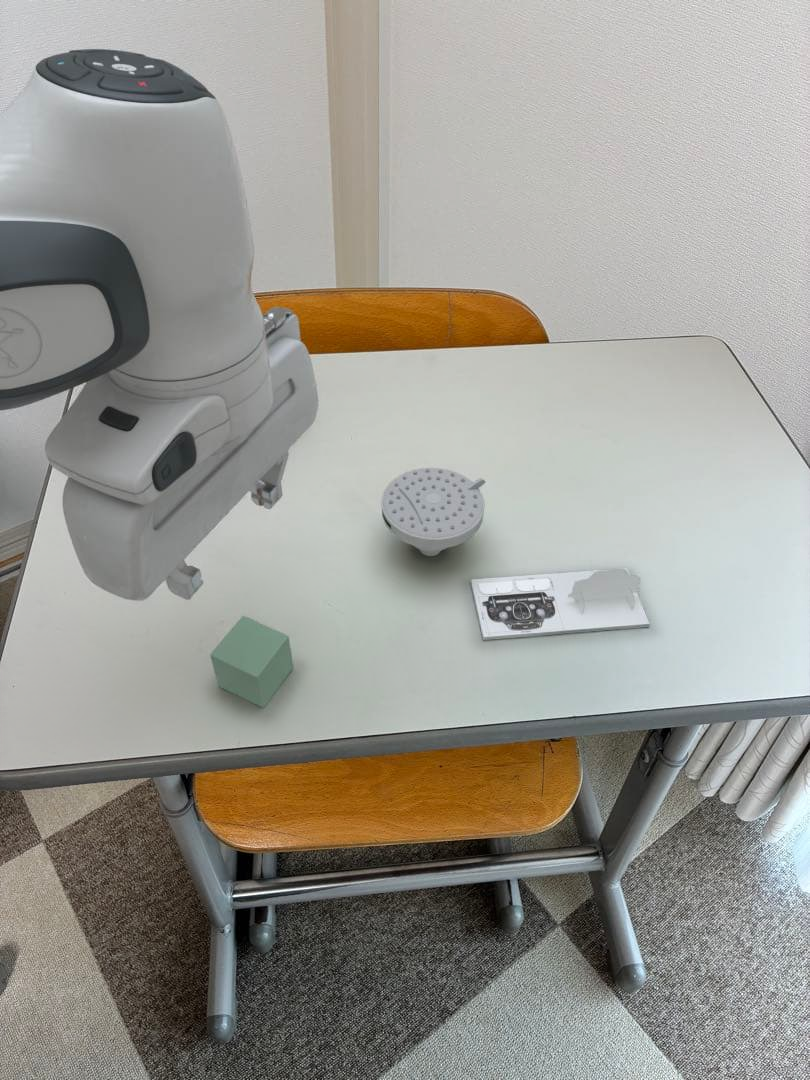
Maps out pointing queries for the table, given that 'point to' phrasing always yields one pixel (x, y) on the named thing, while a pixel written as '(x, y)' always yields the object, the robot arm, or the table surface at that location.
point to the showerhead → (433, 508)
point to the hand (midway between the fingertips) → (229, 543)
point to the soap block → (252, 661)
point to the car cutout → (558, 603)
